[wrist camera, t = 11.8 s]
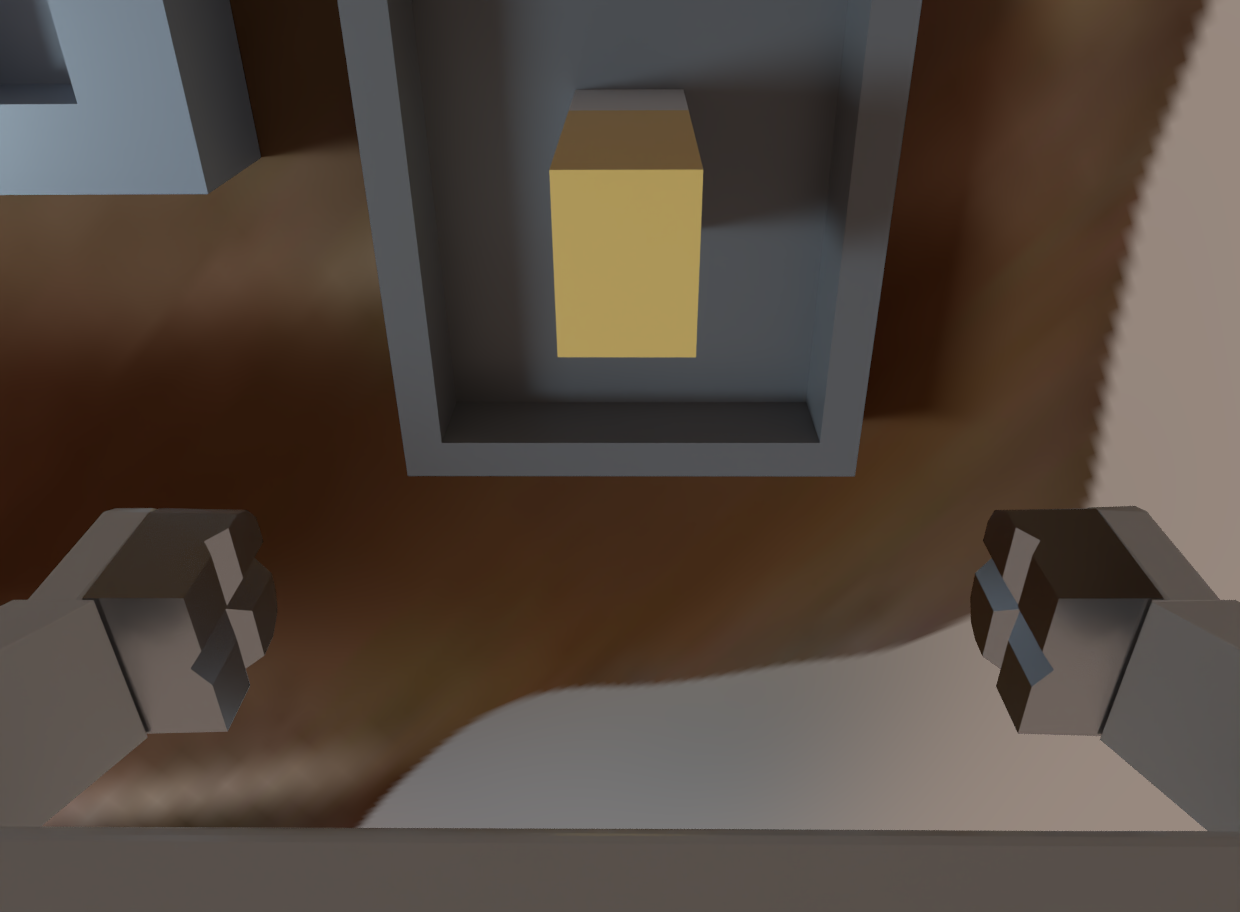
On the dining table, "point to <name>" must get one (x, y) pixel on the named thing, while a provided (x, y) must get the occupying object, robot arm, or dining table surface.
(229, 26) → the socket block
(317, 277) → the dining table surface
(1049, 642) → the robot arm
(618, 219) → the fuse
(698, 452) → the parts tray
